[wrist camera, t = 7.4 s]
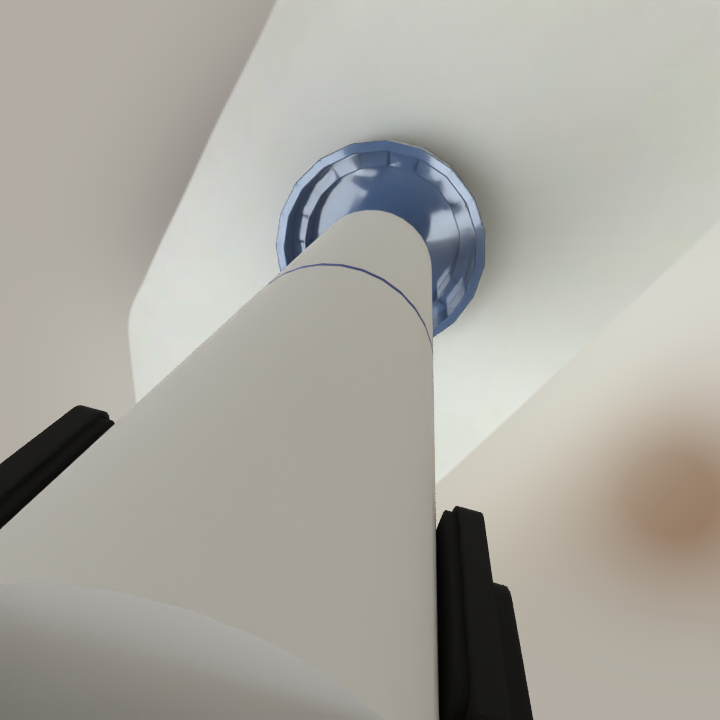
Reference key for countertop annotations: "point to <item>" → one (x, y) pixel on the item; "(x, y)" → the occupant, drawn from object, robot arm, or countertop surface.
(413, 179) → the bowl
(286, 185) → the countertop surface
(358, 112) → the countertop surface
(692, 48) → the countertop surface
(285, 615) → the cylindrical container
